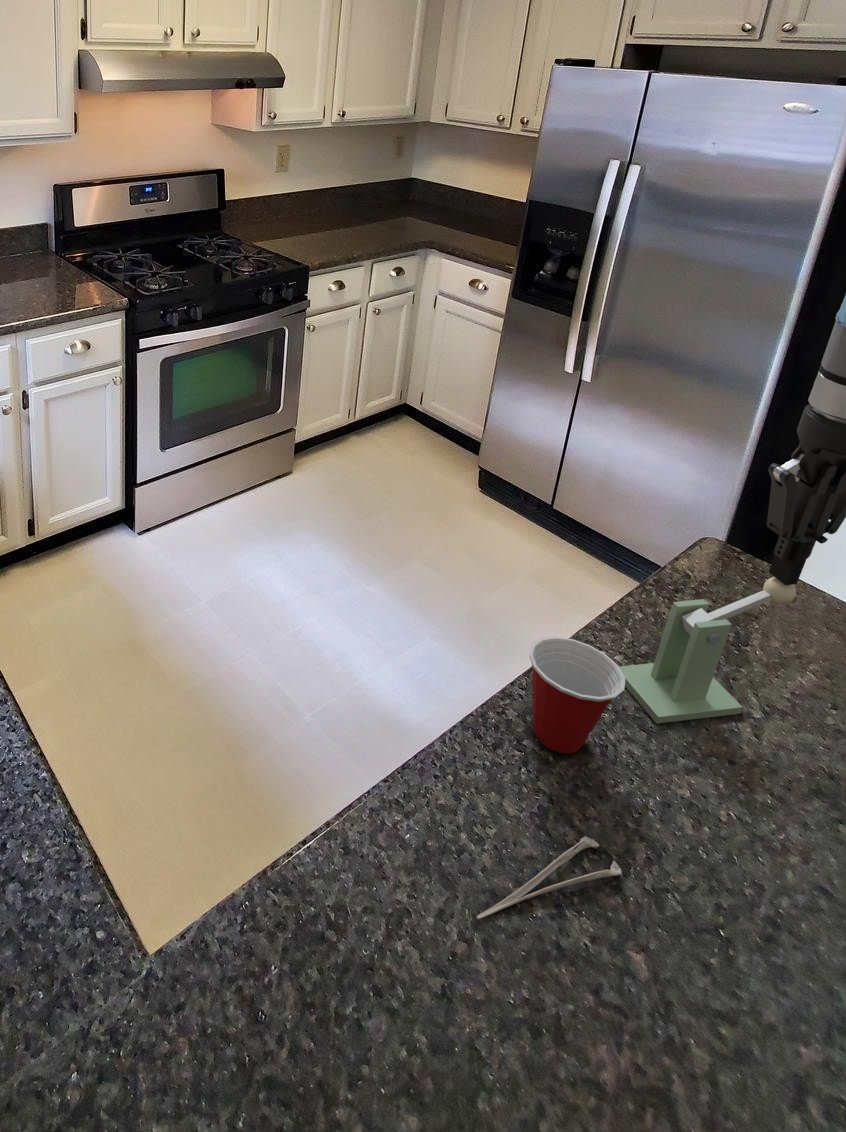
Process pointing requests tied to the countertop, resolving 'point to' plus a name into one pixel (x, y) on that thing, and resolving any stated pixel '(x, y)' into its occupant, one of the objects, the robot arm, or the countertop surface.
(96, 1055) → the countertop surface
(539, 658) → the plastic cup
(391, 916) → the countertop surface
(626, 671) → the bracket
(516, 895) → the lower jaw bone
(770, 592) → the lever
